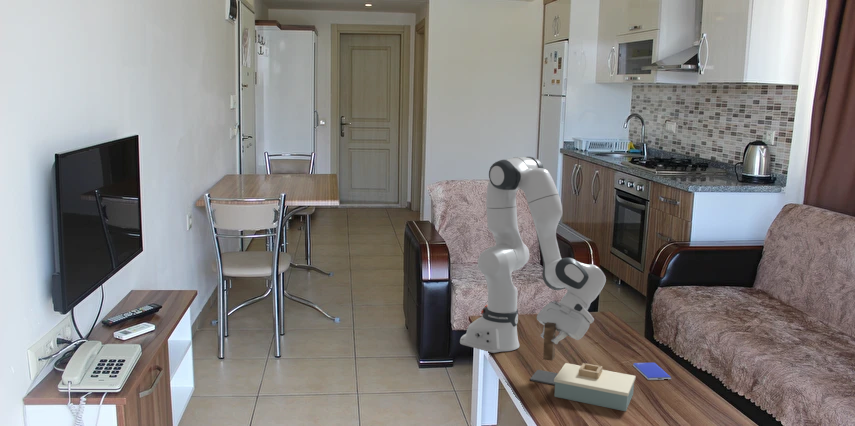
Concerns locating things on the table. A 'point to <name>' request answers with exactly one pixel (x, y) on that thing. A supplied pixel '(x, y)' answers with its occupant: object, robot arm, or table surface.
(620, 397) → the cream and teal block
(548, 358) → the walnut key
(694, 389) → the table surface
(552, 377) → the key mat
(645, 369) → the hard drive
